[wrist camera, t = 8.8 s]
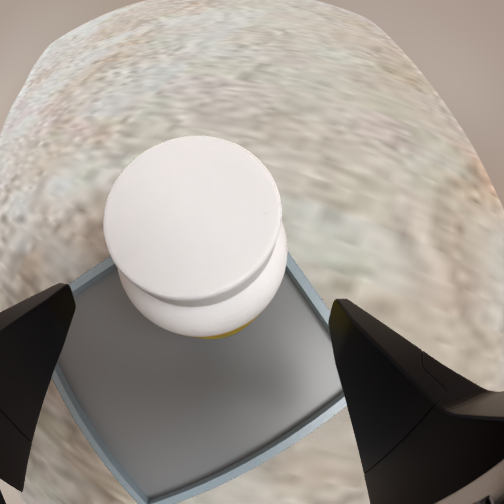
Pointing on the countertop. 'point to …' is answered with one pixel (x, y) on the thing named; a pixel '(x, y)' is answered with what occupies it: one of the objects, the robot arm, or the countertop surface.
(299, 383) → the grey square tray
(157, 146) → the pill bottle
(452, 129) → the countertop surface
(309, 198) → the countertop surface
